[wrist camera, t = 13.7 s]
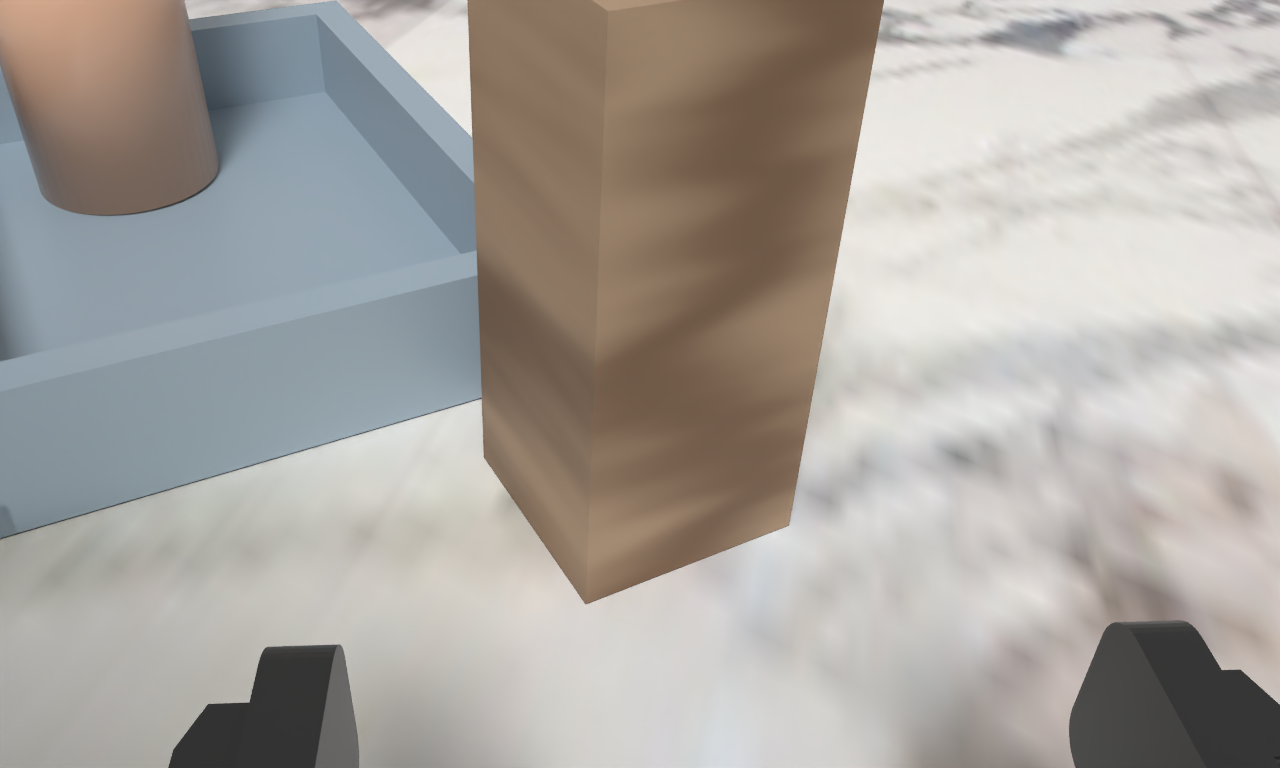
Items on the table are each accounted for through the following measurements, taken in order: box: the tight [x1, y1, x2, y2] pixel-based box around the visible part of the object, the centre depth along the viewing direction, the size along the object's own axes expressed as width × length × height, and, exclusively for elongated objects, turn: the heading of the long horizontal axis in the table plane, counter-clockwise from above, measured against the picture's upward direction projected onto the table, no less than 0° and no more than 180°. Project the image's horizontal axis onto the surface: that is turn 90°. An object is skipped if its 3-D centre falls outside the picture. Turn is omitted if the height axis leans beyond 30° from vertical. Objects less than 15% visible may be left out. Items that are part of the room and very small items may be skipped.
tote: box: [0, 1, 482, 538], centre depth 32 cm, size 14×18×4 cm
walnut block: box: [468, 0, 884, 604], centre depth 22 cm, size 5×5×12 cm
